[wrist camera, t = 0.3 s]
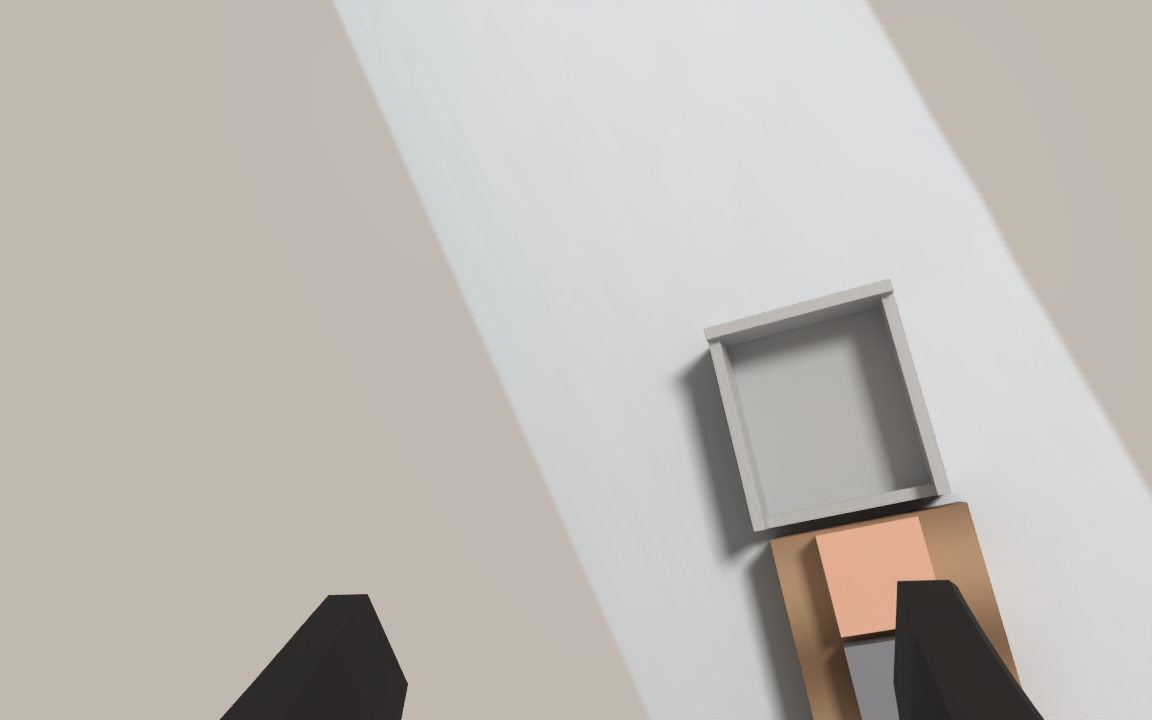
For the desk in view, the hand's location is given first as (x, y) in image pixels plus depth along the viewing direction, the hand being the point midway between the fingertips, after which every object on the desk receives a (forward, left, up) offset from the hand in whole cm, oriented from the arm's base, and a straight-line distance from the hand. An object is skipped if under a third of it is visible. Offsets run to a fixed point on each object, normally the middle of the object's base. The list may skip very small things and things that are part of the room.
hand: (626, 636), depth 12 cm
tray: (+5, -3, -29) cm, 29 cm away
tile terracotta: (-2, -3, -26) cm, 26 cm away
